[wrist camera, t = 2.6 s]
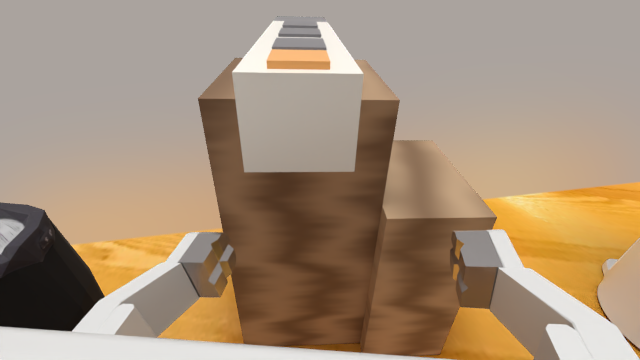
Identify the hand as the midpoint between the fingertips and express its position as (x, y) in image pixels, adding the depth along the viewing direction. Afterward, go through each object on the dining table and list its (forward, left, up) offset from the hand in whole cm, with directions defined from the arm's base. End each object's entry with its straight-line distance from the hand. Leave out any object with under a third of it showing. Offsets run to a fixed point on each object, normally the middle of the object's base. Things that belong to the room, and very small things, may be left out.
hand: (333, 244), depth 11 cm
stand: (-3, -16, -24) cm, 29 cm away
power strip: (+1, -14, +2) cm, 14 cm away
